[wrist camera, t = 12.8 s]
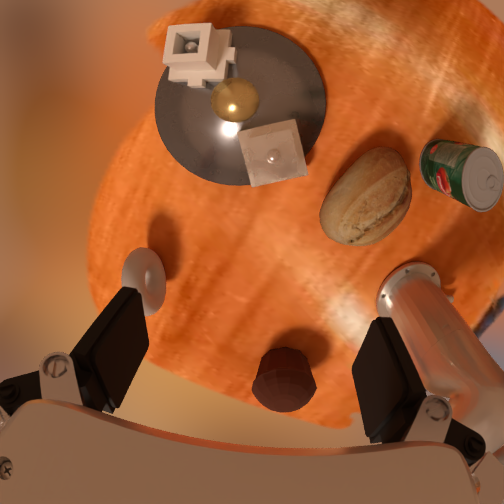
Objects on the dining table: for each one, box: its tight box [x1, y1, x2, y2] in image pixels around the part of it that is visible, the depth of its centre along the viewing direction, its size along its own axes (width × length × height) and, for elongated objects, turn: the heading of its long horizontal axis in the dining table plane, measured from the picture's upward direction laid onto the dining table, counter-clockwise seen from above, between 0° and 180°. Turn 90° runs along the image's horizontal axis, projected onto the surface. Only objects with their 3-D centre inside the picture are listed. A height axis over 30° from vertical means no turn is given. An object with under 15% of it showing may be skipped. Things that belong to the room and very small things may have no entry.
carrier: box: [155, 26, 326, 187], centre depth 28 cm, size 22×22×9 cm
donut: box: [121, 247, 166, 316], centre depth 38 cm, size 10×3×10 cm, turn 8°
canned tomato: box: [419, 139, 504, 212], centre depth 27 cm, size 8×8×11 cm
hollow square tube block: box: [163, 23, 237, 88], centre depth 25 cm, size 9×9×7 cm
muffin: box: [252, 347, 317, 412], centre depth 45 cm, size 12×11×10 cm
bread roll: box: [319, 147, 412, 246], centre depth 32 cm, size 10×15×8 cm, turn 146°
